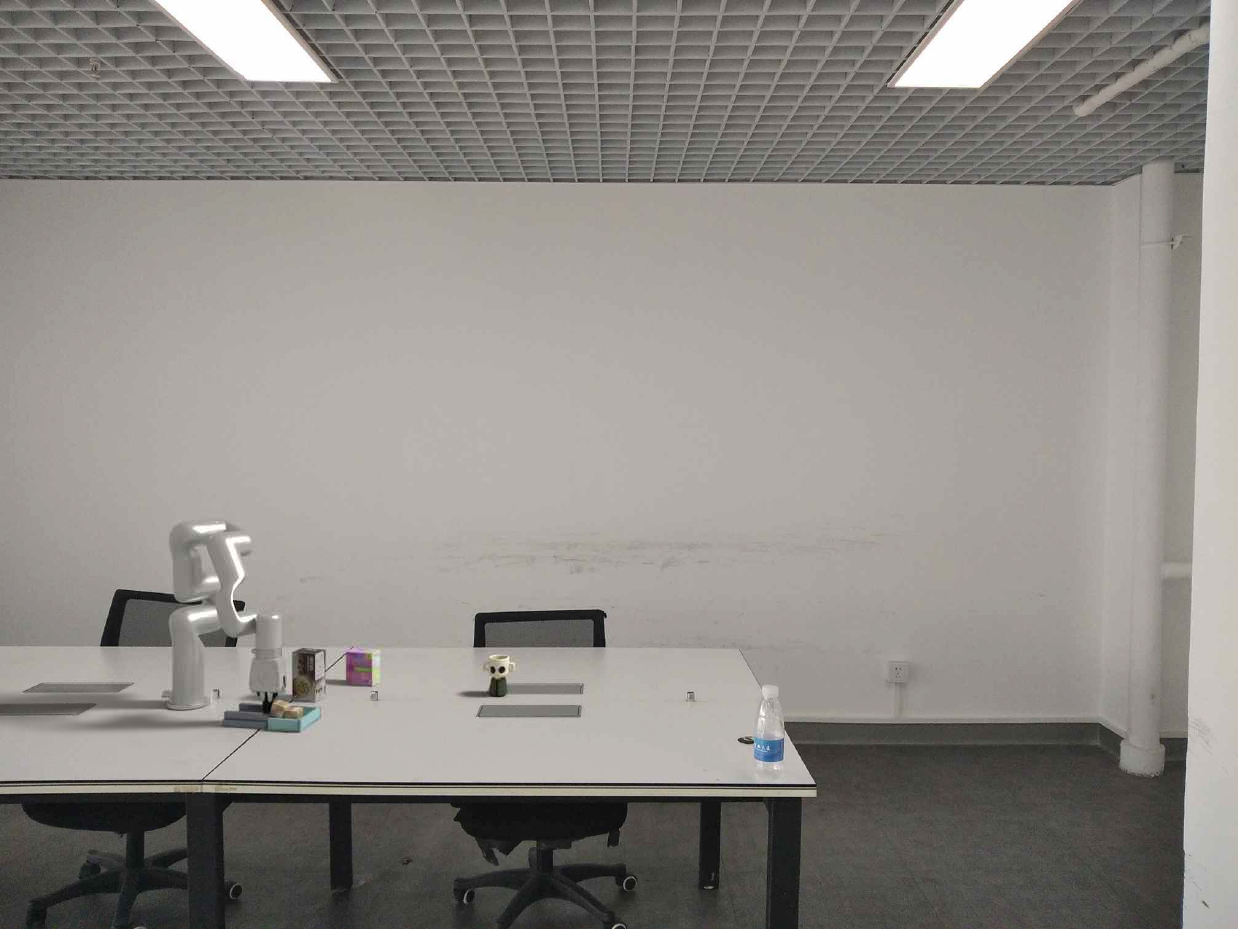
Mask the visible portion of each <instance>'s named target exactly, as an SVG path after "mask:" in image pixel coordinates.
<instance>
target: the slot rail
mask: <svg viewBox="0 0 1238 929" xmlns="http://www.w3.org/2000/svg"><path fill="white" fill-rule="evenodd" d="M268 718H274V717H272V716H271V713H263V710H262V703H256V702H255V703H254V702H240V703H238V710H225V711H224V712H223V719H222V720H221V724H222V725H221V727H226V728H227V727H230V728H244V729H261V730H268Z"/></svg>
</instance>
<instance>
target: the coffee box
mask: <svg viewBox="0 0 1238 929" xmlns="http://www.w3.org/2000/svg"><path fill="white" fill-rule="evenodd" d="M326 651H327V649H320V648H312V647H311V648H309V647H301V648H299V649H296V650H294V651H292V652H291V662H292V663H291V681H292V682H291V683H292V684H291V700H292V701H302V702H313V703H317V702H319V701H320V700H323V699H325V698H326V697H327V696H326V686H327V685H326V678H327V676H326V675H327V674H326V669H327V668H326V664H327V662H326V660H327V659H326V657H327V656H326V655H327V654H326V653H327V652H326Z"/></svg>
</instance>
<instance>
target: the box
mask: <svg viewBox="0 0 1238 929" xmlns="http://www.w3.org/2000/svg"><path fill="white" fill-rule="evenodd" d="M380 682H381V650H380V649H371V648H370V649H368V648H357V647H353V648H351V649H348V650H346V651H345V685H351V686H364V687H365V686H366V687H374V686H376V685H378V684H379V683H380Z"/></svg>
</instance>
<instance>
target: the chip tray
mask: <svg viewBox="0 0 1238 929" xmlns="http://www.w3.org/2000/svg"><path fill="white" fill-rule="evenodd" d="M290 707H302V708H303V717H302V718H300V719H299V720H295V719H279V718H268V728H267V731H271V732H273V731H274V732H276V731H277V732H290V733H302V732H303V731H304V730H305V729H307V728H309V727H310V726H312V725H313V724H314V723H316V722H317V721H319V720H320V719H322V718H321V717H322V713H321V712H322V707H321V706H310V705H308V706H307V705H293V704H291V706H290Z"/></svg>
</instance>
